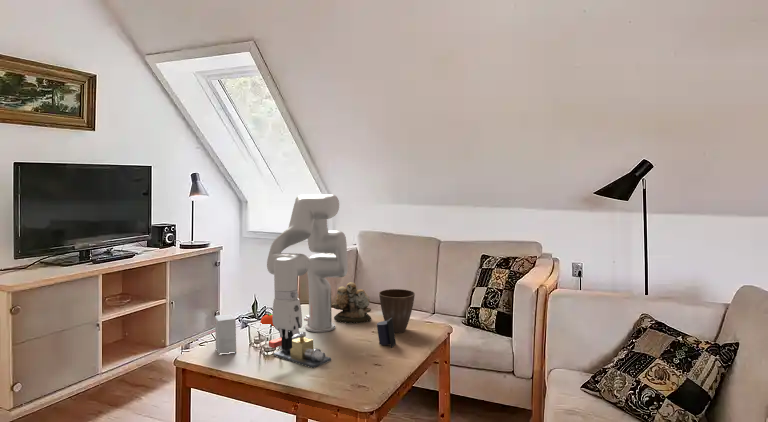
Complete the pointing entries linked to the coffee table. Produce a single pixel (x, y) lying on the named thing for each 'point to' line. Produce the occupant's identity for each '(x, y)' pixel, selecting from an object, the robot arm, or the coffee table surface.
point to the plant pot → (397, 307)
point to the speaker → (386, 333)
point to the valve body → (304, 353)
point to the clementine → (267, 319)
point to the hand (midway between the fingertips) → (286, 348)
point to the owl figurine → (352, 305)
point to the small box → (225, 333)
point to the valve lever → (278, 341)
